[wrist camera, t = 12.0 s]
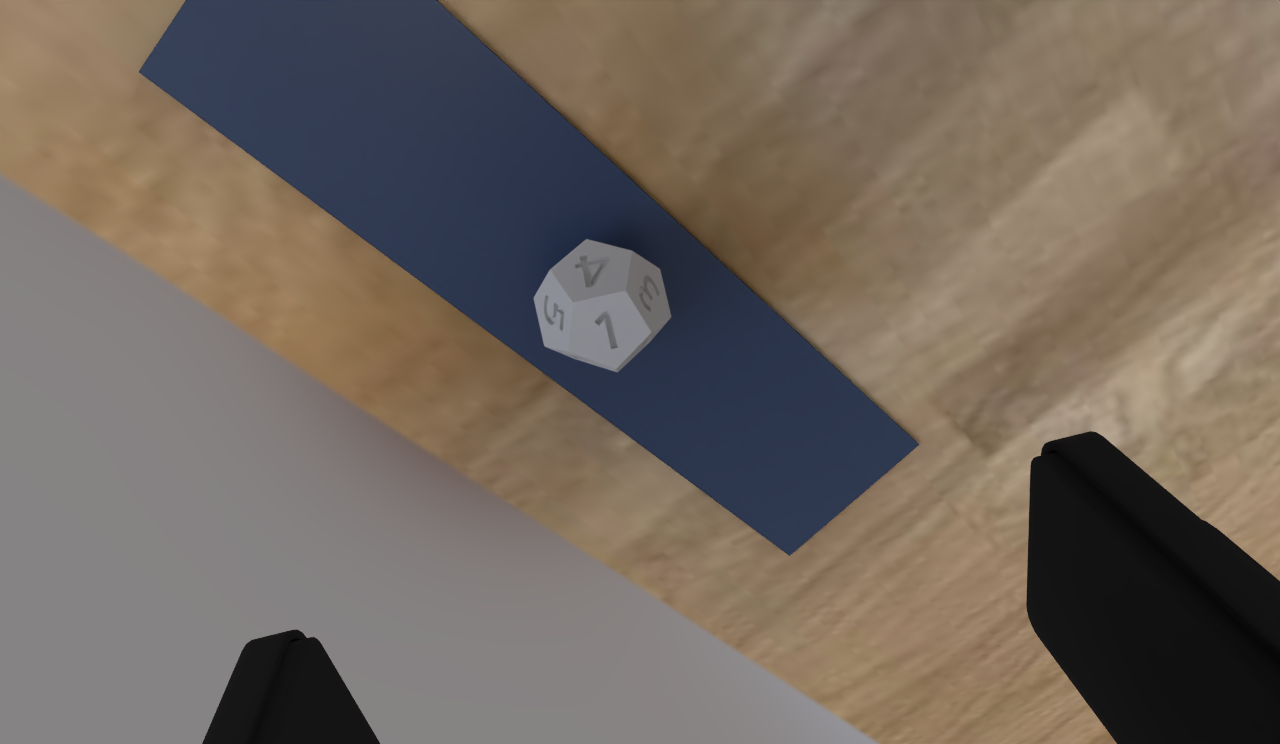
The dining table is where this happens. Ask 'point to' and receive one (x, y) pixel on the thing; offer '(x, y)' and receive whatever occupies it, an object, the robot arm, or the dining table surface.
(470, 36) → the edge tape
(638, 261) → the game die
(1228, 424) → the dining table surface
